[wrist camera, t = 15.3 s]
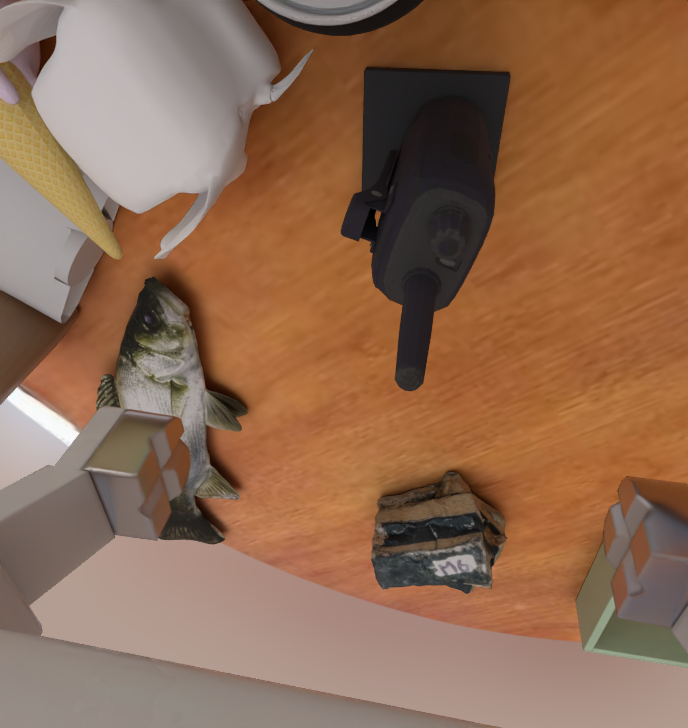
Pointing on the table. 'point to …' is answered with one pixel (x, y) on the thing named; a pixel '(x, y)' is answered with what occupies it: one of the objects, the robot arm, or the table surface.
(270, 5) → the beverage can
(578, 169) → the table surface
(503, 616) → the table surface
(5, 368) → the wooden block
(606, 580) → the green rectangular open frame
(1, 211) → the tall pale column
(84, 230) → the ice cream cone
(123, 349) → the fish
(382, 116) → the rubber pad
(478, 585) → the rock
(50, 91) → the elephant figurine
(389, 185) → the two-way radio
